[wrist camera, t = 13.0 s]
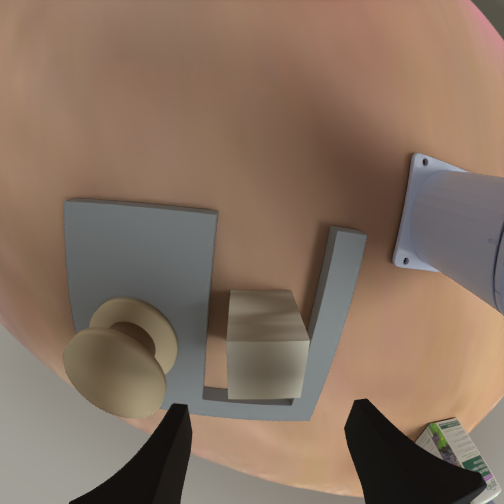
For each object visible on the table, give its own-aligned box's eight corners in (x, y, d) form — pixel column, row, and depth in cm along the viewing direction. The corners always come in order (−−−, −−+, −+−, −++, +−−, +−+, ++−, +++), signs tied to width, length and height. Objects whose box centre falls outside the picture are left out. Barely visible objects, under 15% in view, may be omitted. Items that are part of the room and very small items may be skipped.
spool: (179, 304, 17) (161, 347, 13) (178, 379, 19) (166, 427, 15) (89, 289, 17) (53, 323, 13) (99, 363, 19) (76, 403, 14)
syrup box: (457, 415, 26) (505, 488, 12) (435, 443, 27) (473, 514, 13) (429, 422, 25) (477, 507, 11) (406, 450, 27) (443, 531, 13)
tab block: (291, 290, 19) (310, 340, 13) (286, 340, 20) (300, 397, 15) (230, 289, 19) (226, 341, 13) (231, 340, 20) (228, 399, 14)
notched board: (358, 229, 18) (367, 235, 17) (306, 408, 22) (309, 420, 21) (75, 198, 17) (64, 201, 15) (95, 380, 21) (89, 391, 20)
